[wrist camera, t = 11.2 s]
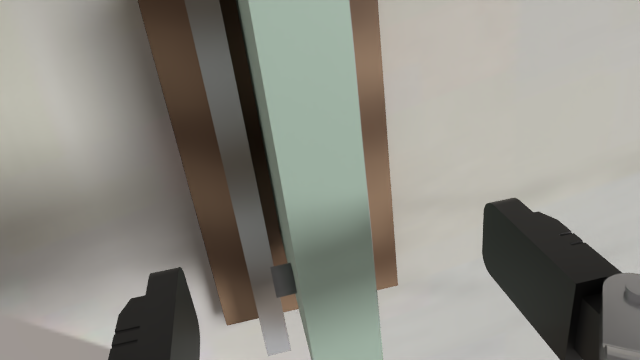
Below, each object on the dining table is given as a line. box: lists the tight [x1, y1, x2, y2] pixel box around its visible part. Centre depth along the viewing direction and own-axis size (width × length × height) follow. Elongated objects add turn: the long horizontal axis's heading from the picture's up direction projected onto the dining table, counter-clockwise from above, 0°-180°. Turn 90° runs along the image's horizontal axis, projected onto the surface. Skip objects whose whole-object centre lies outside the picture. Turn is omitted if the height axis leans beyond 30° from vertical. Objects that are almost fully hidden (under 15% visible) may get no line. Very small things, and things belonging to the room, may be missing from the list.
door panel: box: [236, 0, 383, 360], centre depth 19 cm, size 14×3×10 cm, turn 7°
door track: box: [138, 0, 398, 356], centre depth 23 cm, size 22×10×4 cm, turn 7°
